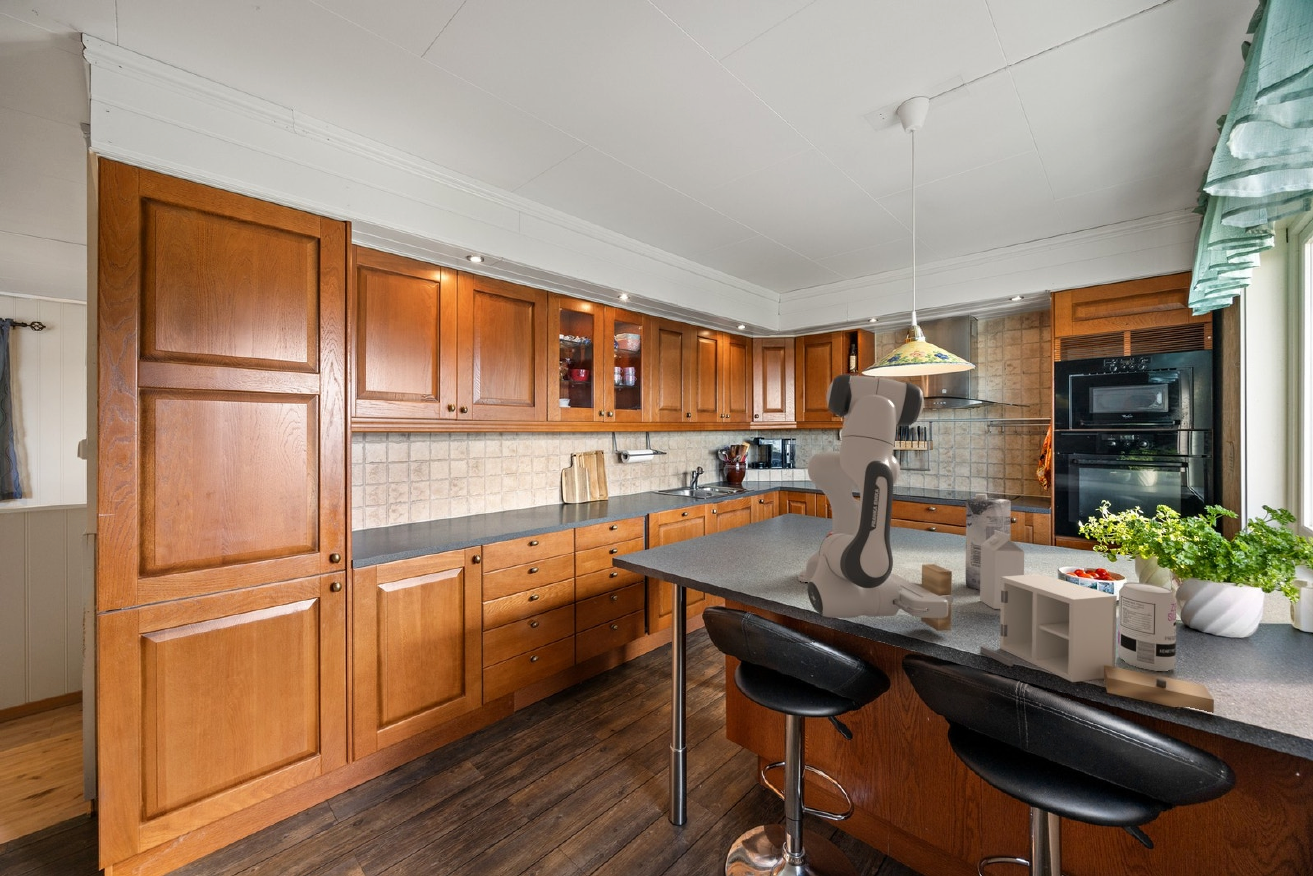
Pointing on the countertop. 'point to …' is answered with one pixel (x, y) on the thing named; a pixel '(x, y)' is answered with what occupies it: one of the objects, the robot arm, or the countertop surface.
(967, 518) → the juice carton
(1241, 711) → the countertop surface
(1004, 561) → the milk carton
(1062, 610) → the carcass
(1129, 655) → the supplement can
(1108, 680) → the door
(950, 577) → the oak door
